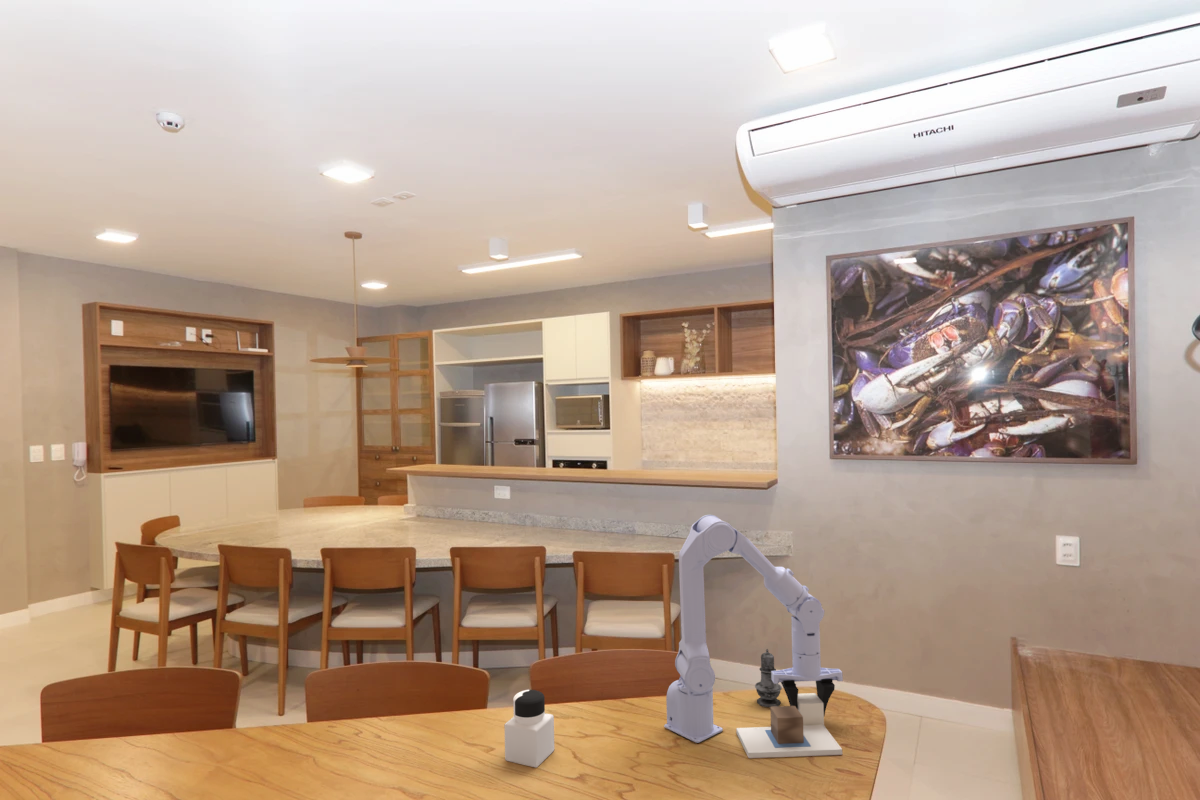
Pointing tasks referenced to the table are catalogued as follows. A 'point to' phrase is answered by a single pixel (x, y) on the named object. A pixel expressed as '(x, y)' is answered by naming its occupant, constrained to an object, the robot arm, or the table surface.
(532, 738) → the medicine bottle
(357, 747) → the table surface
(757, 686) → the grey tall round piece
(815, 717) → the cream block
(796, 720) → the walnut block
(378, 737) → the table surface
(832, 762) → the table surface
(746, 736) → the board
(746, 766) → the table surface
